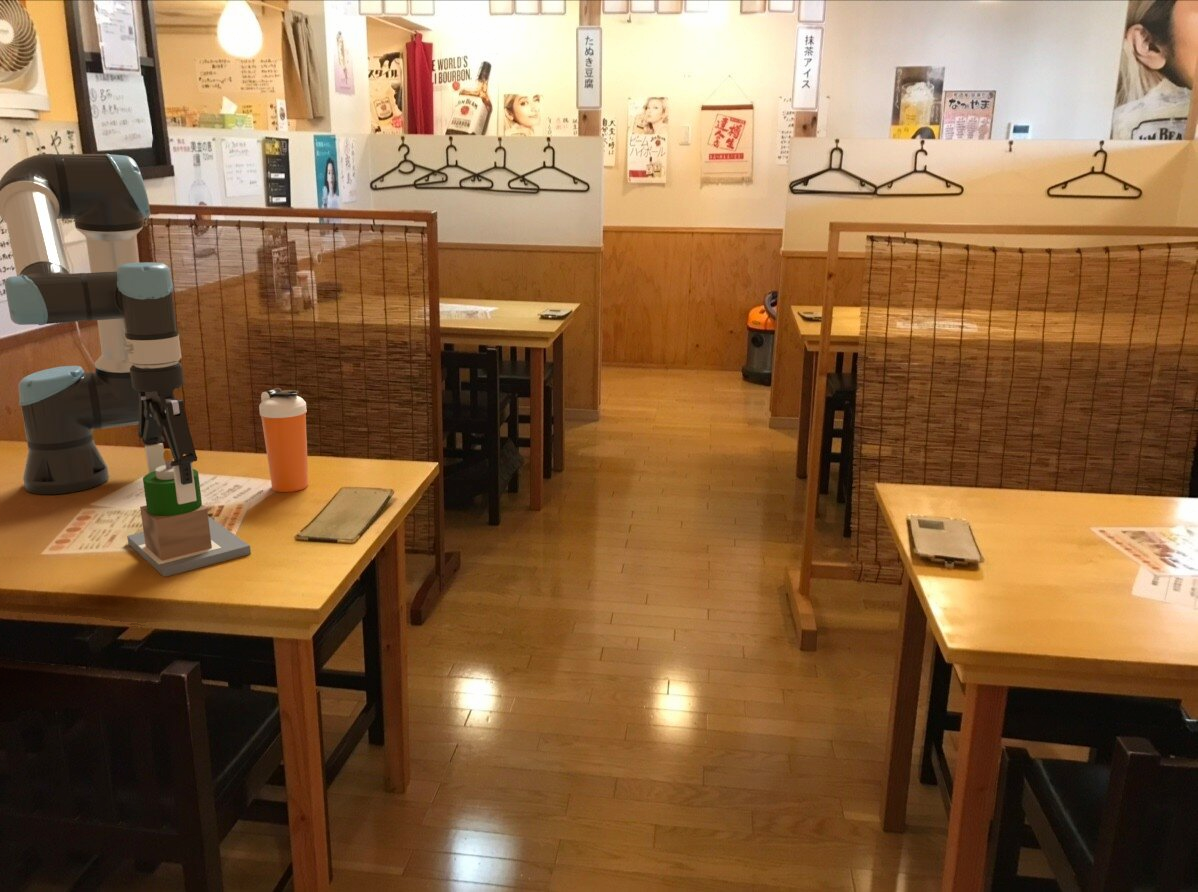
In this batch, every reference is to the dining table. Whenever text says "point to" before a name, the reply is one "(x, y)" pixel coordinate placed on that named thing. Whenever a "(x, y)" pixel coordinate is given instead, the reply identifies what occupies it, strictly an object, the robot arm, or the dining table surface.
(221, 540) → the board
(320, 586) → the dining table surface
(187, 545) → the block
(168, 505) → the candle
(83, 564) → the dining table surface
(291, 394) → the shaker bottle
